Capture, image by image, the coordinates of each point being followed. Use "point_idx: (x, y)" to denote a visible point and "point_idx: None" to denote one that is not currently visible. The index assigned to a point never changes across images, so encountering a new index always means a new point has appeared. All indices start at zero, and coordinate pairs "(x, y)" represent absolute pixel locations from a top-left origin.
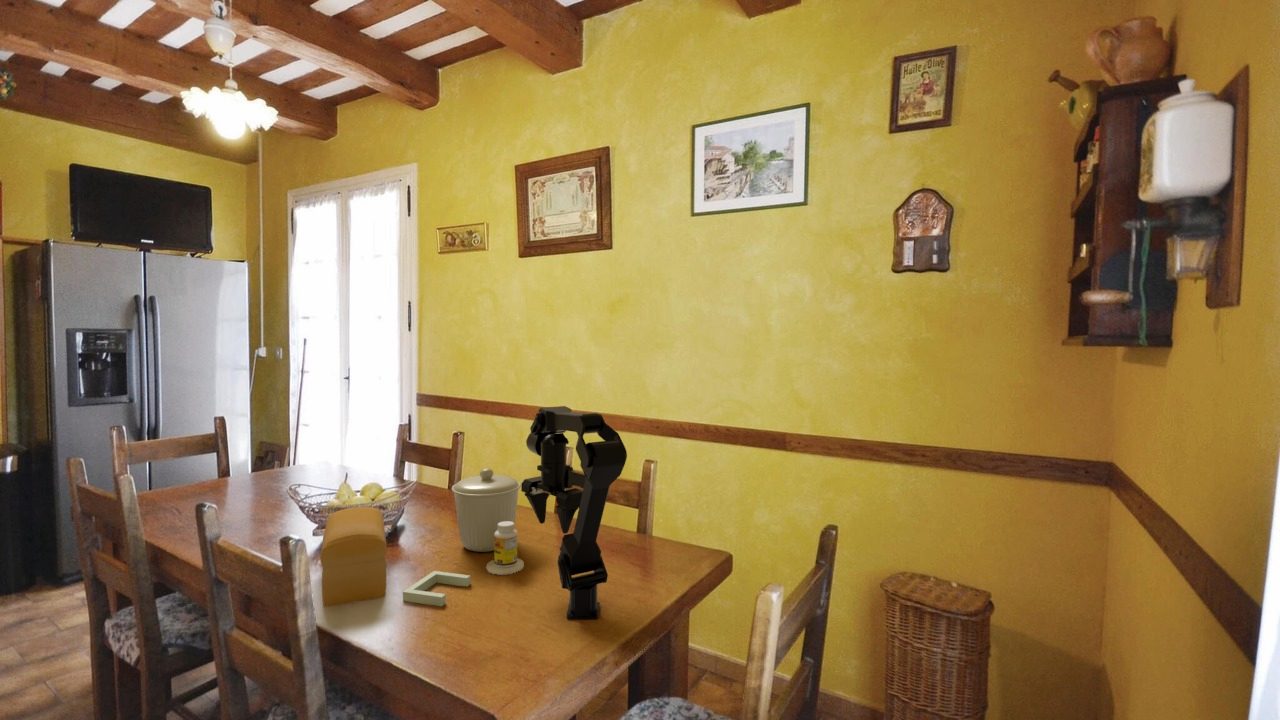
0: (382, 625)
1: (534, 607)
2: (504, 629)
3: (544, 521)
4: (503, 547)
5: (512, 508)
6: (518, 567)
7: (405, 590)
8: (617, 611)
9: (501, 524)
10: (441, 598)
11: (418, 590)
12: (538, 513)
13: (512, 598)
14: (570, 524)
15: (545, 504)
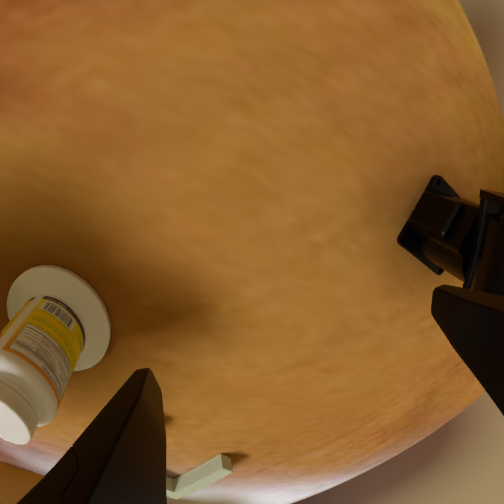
0: (249, 498)
1: (351, 321)
2: (385, 383)
3: (148, 374)
4: (66, 386)
5: None
6: (88, 299)
7: (172, 497)
8: (468, 156)
9: (11, 436)
10: (232, 470)
11: (182, 489)
12: (161, 471)
13: (274, 356)
14: (495, 296)
15: (106, 487)
